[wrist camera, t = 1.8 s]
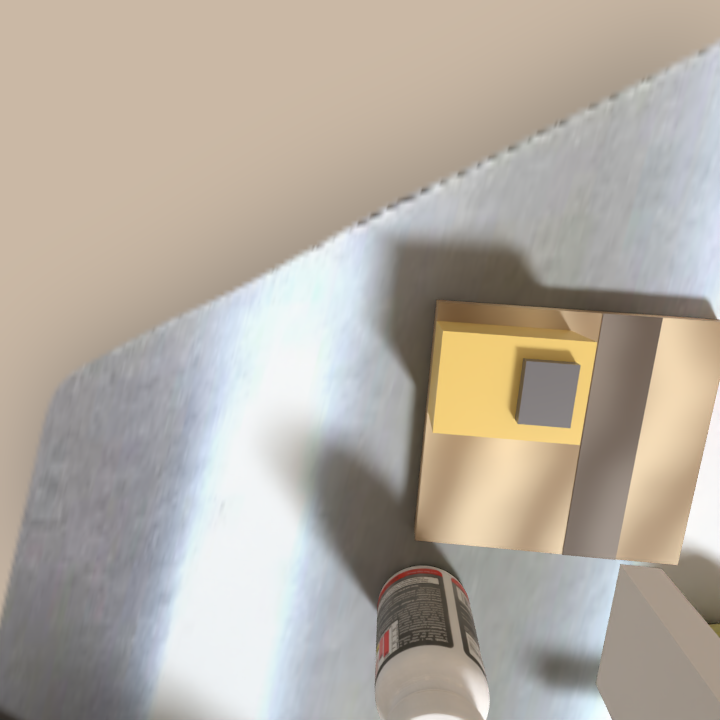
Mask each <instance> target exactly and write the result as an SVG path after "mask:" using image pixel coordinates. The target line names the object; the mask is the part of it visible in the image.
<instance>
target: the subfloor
mask: <svg viewBox="0 0 720 720" xmlns="http://www.w3.org/2000/svg"><path fill="white" fill-rule="evenodd" d="M437 321H447V322H461V323H475V324H489V325H503V326H516V327H530V328H544V329H558V330H571V331H573V332H575V333H578V334H580V335H582V336H584V337H587V338H589V339H591V340H593V341H596V342H597V347H596V353H595V359H594V365H593V370H592V376H591V382H590V388H589V394H588V400H587V406H586V412H585V418H584V424H583V429H582V435H581V441H580V445H572V444H560V443H548V442H536V441H524V440H512V439H500V438H488V437H476V436H464V435H452V434H440V433H433V432H432V428H431V423H430V418H429V414H428V403H429V393H430V383H431V373H432V362H433V352H434V342H435V332H436V322H437ZM719 381H720V320H717V319H703V318H689V317H675V316H660V315H646V314H632V313H618V312H604V311H589V310H575V309H561V308H547V307H532V306H518V305H504V304H490V303H475V302H461V301H447V300H436V310H435V320H434V331H433V341H432V351H431V362H430V372H429V382H428V393H427V403H426V413H425V423H424V434H423V444H422V454H421V465H420V475H419V485H418V496H417V506H416V516H415V526H414V533H415V540H417V541H428V542H438V543H449V544H460V545H470V546H481V547H491V548H502V549H512V550H523V551H534V552H544V553H555V554H562V555H571V556H582V557H592V558H603V559H613V560H616V559H618V560H629V561H640V562H650V563H661V564H671V565H678V561H679V557H680V553H681V548H682V544H683V539H684V535H685V531H686V526H687V522H688V517H689V513H690V509H691V504H692V500H693V495H694V491H695V487H696V482H697V478H698V473H699V469H700V464H701V460H702V456H703V451H704V447H705V442H706V438H707V434H708V429H709V425H710V420H711V416H712V412H713V407H714V403H715V398H716V394H717V390H718V385H719Z"/></svg>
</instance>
